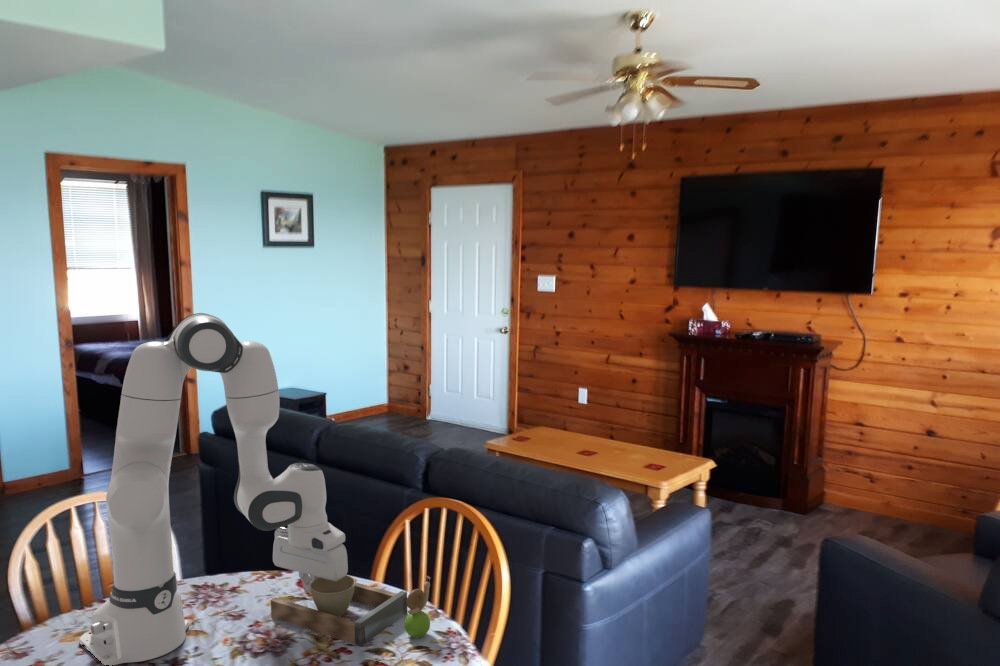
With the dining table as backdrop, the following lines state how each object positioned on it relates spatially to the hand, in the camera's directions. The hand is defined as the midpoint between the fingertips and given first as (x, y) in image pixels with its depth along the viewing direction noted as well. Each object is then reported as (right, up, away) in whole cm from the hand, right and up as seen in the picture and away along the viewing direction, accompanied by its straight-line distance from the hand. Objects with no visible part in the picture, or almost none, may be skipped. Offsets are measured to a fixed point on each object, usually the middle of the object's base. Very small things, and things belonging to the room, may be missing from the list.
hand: (310, 590), depth 164 cm
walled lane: (+8, -4, -4) cm, 10 cm away
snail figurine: (+27, -5, -13) cm, 30 cm away
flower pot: (+6, -4, -3) cm, 8 cm away
